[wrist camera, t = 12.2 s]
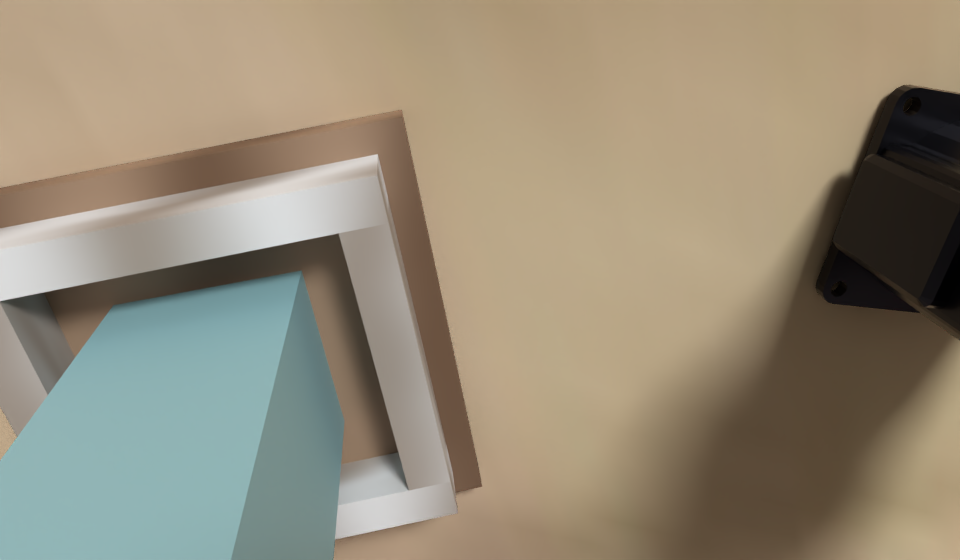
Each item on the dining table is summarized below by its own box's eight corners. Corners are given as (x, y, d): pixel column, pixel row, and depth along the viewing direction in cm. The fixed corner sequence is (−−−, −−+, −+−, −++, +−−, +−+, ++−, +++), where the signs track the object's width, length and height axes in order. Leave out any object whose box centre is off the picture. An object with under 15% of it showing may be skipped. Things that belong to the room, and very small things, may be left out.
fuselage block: (301, 270, 20) (179, 769, 8) (344, 421, 22) (299, 986, 10) (113, 305, 19) (-299, 869, 8) (175, 454, 22) (-71, 1070, 10)
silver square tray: (401, 109, 19) (404, 134, 17) (479, 470, 24) (489, 527, 22) (-68, 201, 18) (-134, 240, 16) (114, 547, 24) (85, 614, 21)
